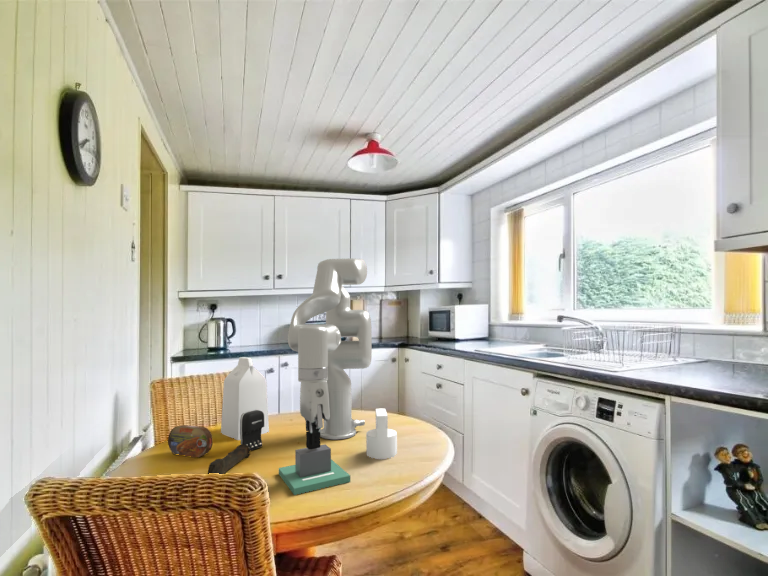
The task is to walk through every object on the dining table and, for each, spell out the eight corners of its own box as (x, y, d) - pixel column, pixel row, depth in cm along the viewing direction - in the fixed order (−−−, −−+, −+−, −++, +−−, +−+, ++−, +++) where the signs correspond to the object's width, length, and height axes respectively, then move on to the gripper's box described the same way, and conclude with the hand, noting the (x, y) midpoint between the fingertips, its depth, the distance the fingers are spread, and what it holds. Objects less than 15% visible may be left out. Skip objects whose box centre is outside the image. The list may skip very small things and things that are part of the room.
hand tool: (237, 457, 116) (237, 441, 117) (250, 457, 116) (250, 441, 116) (197, 485, 98) (197, 466, 98) (212, 486, 97) (212, 466, 97)
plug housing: (325, 465, 104) (325, 444, 105) (331, 471, 101) (330, 448, 101) (295, 472, 100) (295, 449, 101) (300, 477, 97) (300, 454, 97)
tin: (166, 453, 119) (167, 425, 120) (175, 450, 122) (176, 422, 123) (206, 459, 114) (206, 429, 115) (214, 455, 117) (214, 426, 118)
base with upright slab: (398, 458, 113) (398, 415, 113) (366, 460, 112) (366, 416, 113) (395, 447, 122) (395, 408, 122) (366, 449, 121) (365, 408, 122)
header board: (329, 463, 110) (329, 444, 110) (350, 481, 98) (350, 460, 98) (278, 473, 103) (278, 454, 103) (294, 495, 91) (294, 472, 91)
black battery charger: (247, 453, 118) (247, 414, 119) (239, 451, 120) (239, 413, 121) (266, 447, 124) (266, 409, 125) (258, 444, 126) (258, 408, 127)
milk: (269, 432, 140) (269, 357, 141) (238, 440, 131) (238, 360, 132) (250, 425, 147) (251, 355, 149) (220, 433, 139) (221, 358, 140)
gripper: (338, 376, 97) (338, 453, 96) (317, 369, 110) (317, 437, 109) (308, 379, 94) (308, 459, 92) (290, 372, 107) (290, 442, 105)
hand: (313, 447), depth 101 cm, fingers closed
